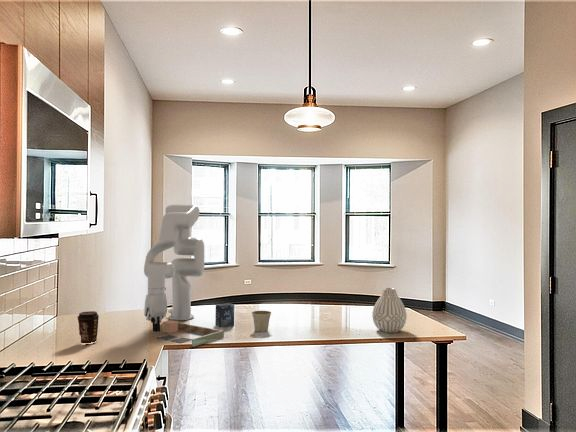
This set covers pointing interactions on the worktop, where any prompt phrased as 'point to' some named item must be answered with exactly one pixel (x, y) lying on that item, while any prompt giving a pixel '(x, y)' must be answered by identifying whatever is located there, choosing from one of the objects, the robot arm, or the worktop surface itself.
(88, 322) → the coffee cup
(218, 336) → the shallow rectangular tray
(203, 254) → the robot arm
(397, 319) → the vase
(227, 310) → the box
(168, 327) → the block
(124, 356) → the worktop surface
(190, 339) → the mats
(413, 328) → the worktop surface
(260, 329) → the flower pot
